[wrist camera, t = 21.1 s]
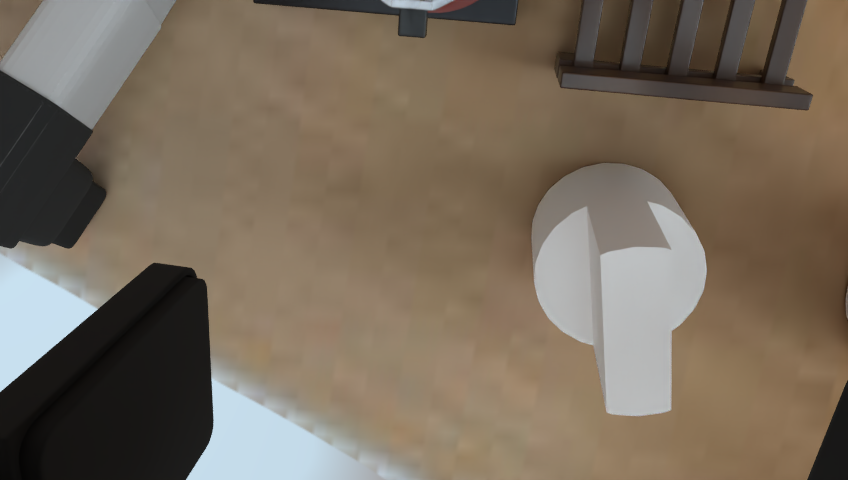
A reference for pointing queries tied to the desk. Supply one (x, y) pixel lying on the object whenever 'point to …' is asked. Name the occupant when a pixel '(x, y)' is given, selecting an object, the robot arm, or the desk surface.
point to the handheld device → (63, 110)
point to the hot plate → (453, 6)
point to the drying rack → (688, 58)
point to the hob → (491, 7)
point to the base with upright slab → (618, 276)
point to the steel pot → (414, 15)
